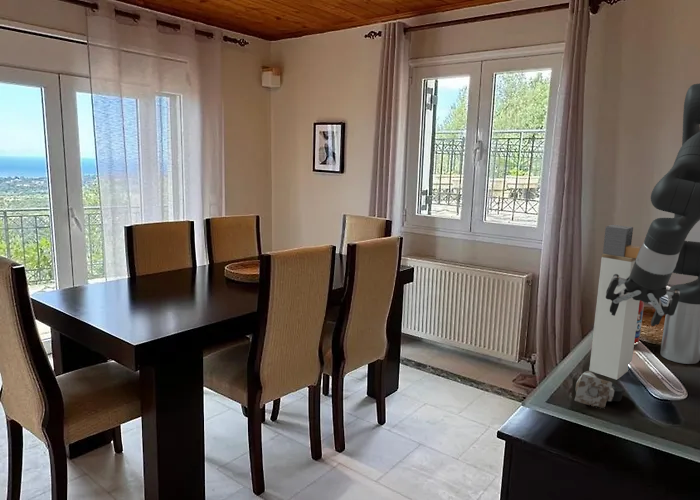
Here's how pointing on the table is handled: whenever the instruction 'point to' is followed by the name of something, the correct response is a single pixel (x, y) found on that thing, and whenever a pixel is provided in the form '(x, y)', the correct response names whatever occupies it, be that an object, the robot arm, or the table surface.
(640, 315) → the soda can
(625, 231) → the grey hammer
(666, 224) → the robot arm
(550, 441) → the table surface
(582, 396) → the grey speckled two-tone part
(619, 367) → the plinth
